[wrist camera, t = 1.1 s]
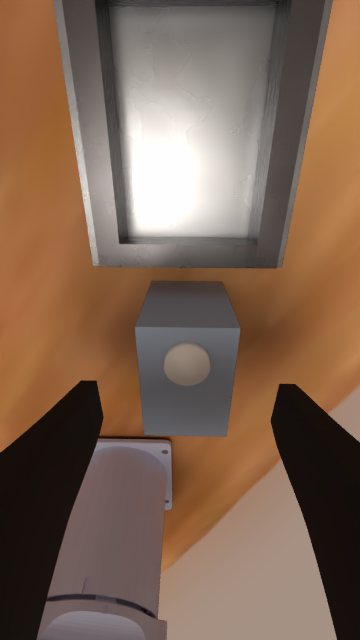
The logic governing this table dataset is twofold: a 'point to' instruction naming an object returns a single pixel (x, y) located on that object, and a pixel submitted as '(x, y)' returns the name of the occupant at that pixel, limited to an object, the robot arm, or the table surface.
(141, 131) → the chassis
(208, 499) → the table surface
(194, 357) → the block
